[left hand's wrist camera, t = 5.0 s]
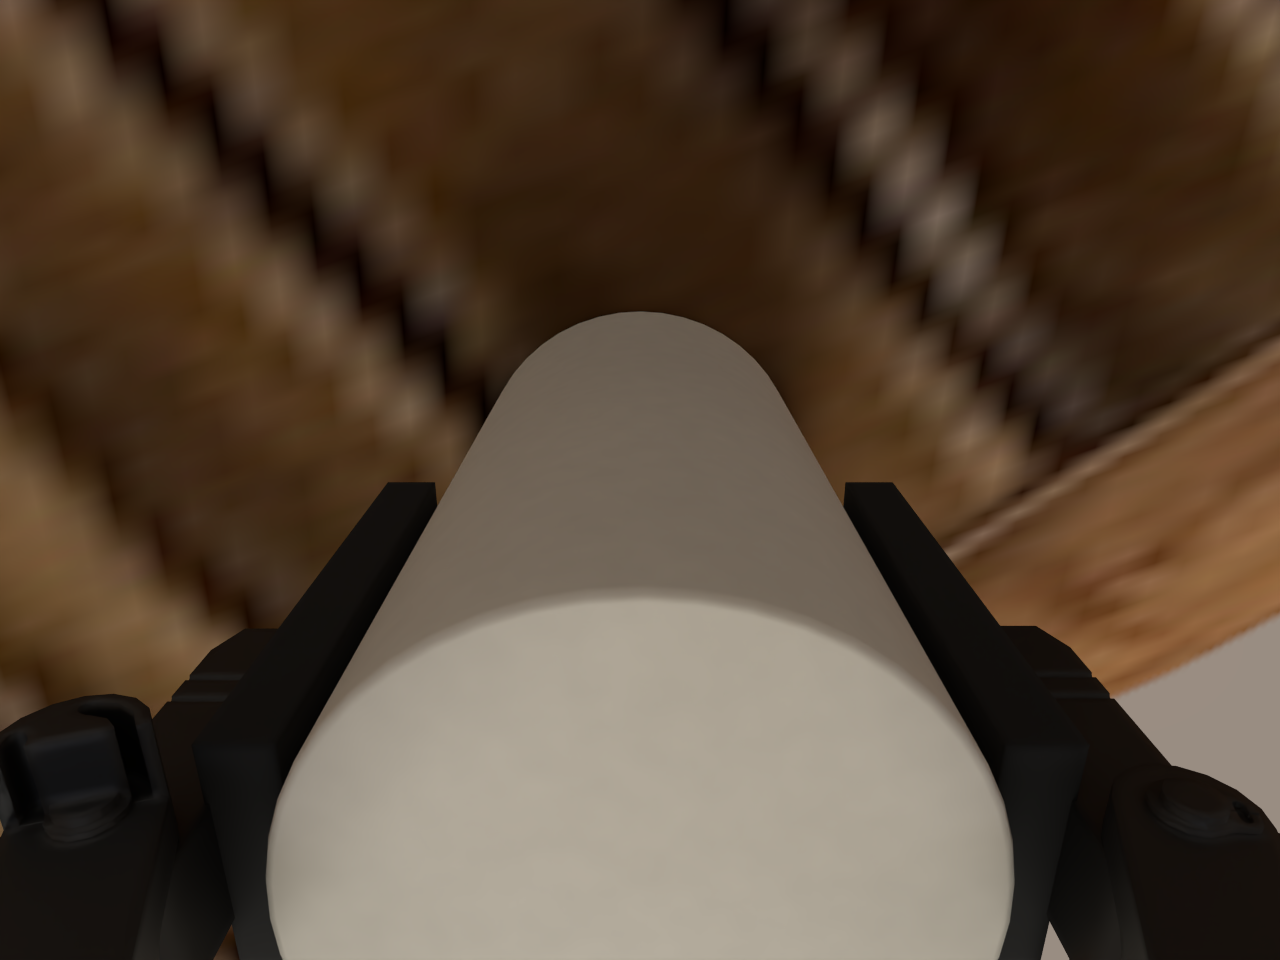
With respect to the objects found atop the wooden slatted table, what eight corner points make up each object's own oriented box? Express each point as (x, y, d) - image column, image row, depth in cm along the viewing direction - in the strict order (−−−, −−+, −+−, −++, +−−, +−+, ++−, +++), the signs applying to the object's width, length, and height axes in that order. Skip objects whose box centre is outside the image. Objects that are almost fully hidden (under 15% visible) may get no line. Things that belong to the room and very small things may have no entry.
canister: (494, 598, 20) (313, 1163, 9) (477, 309, 17) (198, 587, 6) (783, 600, 20) (962, 1166, 9) (804, 311, 17) (1085, 593, 6)
